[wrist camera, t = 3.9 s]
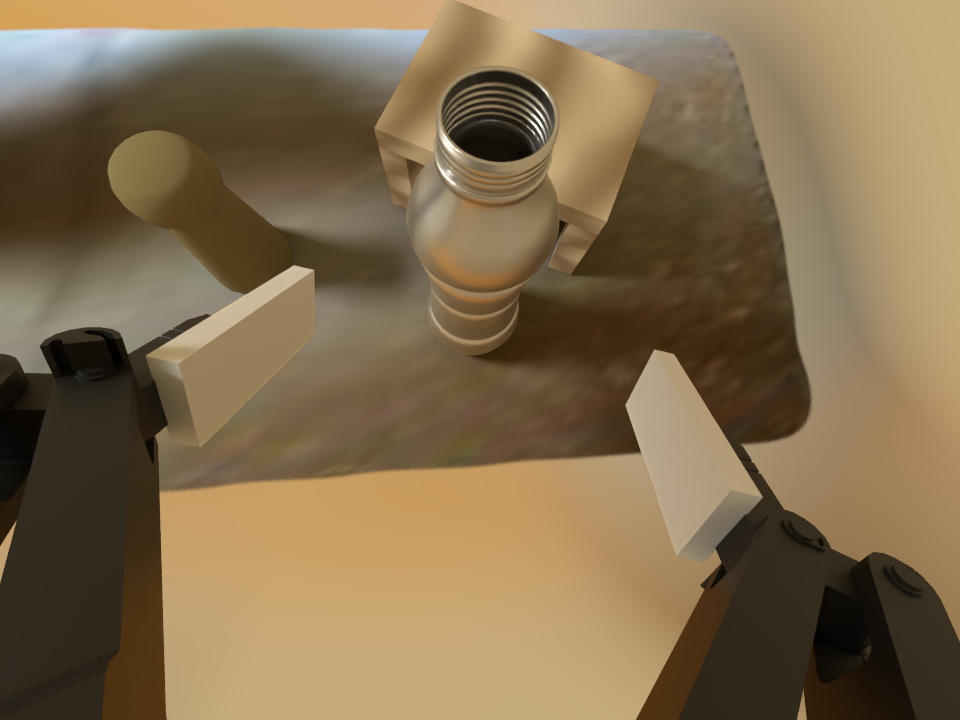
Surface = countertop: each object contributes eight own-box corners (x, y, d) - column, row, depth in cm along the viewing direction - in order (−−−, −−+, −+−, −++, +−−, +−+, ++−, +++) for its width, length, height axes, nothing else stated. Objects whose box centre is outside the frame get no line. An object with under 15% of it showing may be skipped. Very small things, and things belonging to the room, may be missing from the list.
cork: (305, 242, 32) (228, 137, 21) (266, 306, 30) (163, 229, 19) (238, 212, 32) (128, 93, 21) (196, 274, 30) (55, 181, 20)
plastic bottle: (521, 353, 31) (637, 194, 11) (436, 369, 30) (402, 228, 10) (504, 278, 32) (581, 17, 12) (422, 291, 31) (368, 37, 12)
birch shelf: (393, 203, 33) (373, 128, 25) (449, 96, 35) (448, -3, 28) (570, 275, 32) (606, 221, 25) (613, 161, 35) (659, 80, 27)
